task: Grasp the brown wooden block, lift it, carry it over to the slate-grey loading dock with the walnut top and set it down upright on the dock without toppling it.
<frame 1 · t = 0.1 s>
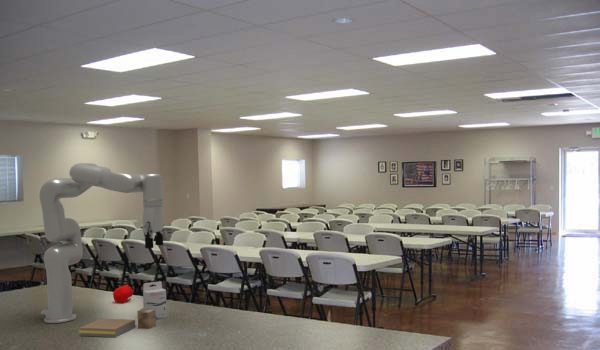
hand: (154, 246, 227), 31 cm above the counter, fingers open, 9 cm apart
dock: (108, 331, 216), on the counter
red animal figurine: (122, 302, 270), on the counter
brown wooden block: (147, 327, 221), on the counter
ink box: (155, 318, 236), on the counter
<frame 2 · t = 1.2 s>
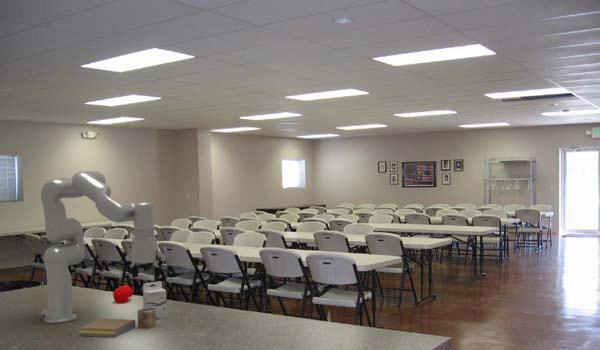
hand: (146, 277, 221), 20 cm above the counter, fingers open, 9 cm apart
nothing on the counter moved.
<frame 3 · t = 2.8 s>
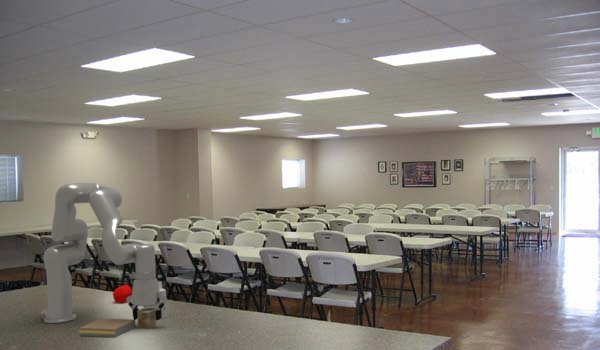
hand: (147, 319, 221), 3 cm above the counter, fingers open, 9 cm apart
nothing on the counter moved.
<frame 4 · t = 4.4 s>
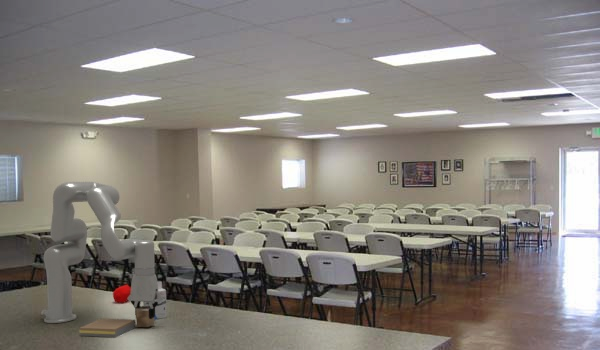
hand: (145, 317, 221), 4 cm above the counter, fingers closed on brown wooden block, 5 cm apart
brown wooden block: (145, 325, 221), point 1 cm above the counter, touching gripper
everything else where it was.
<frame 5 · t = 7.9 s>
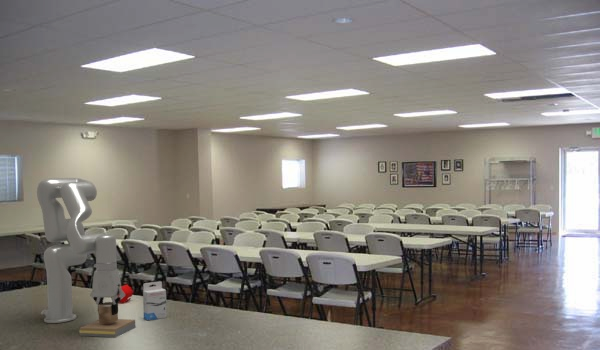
hand: (108, 313, 216), 7 cm above the counter, fingers closed on brown wooden block, 5 cm apart
brown wooden block: (108, 321, 216), point 4 cm above the counter, touching gripper
everything else where it was.
when the fingers open (6 cm above the counter, at t = 9.1 s): brown wooden block stays where it is, resting on dock.
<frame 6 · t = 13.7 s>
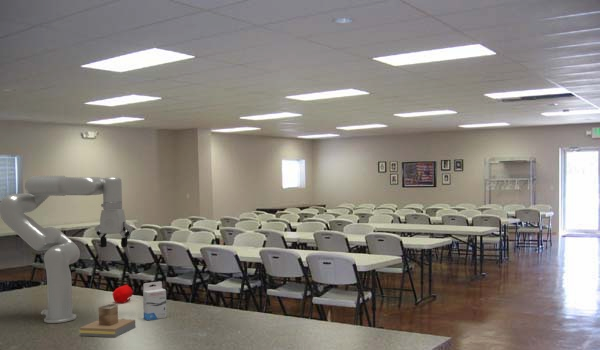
hand: (114, 247, 236), 30 cm above the counter, fingers open, 9 cm apart
brown wooden block: (108, 323, 216), point 3 cm above the counter, touching dock
everything else where it was.
at the end: brown wooden block inside the target area on the dock (0.3 cm from its centre), point 3.0 cm above the dock's base; brown wooden block tilted 0°; the gripper is holding nothing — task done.
